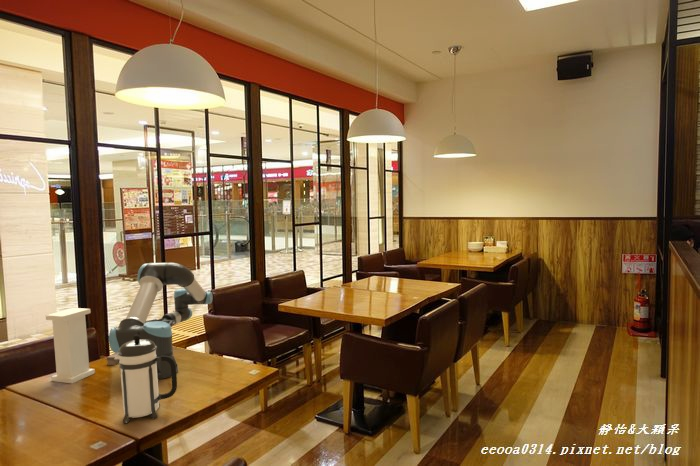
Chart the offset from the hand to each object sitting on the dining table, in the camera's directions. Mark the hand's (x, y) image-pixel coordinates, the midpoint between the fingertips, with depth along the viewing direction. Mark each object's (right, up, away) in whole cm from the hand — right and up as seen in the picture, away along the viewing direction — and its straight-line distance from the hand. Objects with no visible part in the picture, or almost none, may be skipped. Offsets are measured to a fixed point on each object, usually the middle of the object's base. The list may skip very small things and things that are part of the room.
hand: (144, 329), depth 247 cm
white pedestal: (-15, -13, -39) cm, 43 cm away
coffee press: (+36, -15, -78) cm, 87 cm away
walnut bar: (-4, -12, -12) cm, 17 cm away
